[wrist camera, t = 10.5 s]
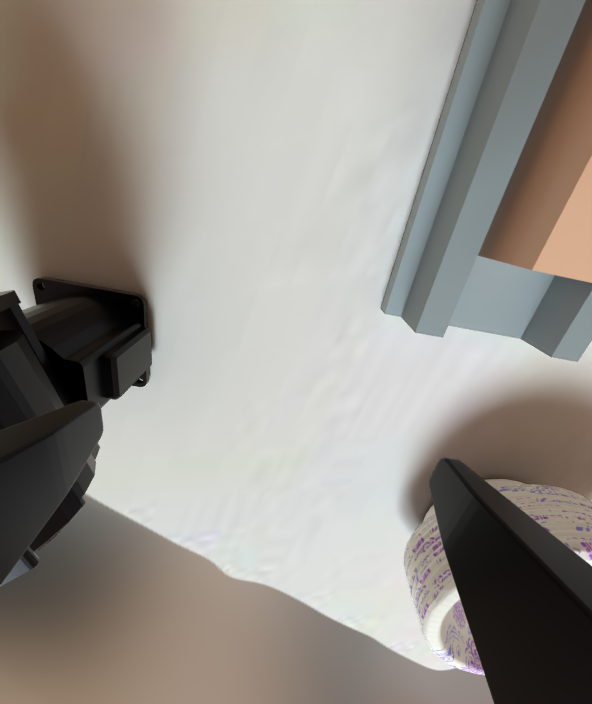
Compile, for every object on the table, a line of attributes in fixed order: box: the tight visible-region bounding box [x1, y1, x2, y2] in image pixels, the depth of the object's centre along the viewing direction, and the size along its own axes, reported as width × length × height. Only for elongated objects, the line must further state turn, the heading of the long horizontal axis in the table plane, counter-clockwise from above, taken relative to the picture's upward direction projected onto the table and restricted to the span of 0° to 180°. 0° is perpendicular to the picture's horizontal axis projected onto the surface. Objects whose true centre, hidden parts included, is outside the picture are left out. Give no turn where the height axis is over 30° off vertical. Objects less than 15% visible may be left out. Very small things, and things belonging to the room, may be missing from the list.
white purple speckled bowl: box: [404, 479, 592, 675], centre depth 23 cm, size 15×15×8 cm
